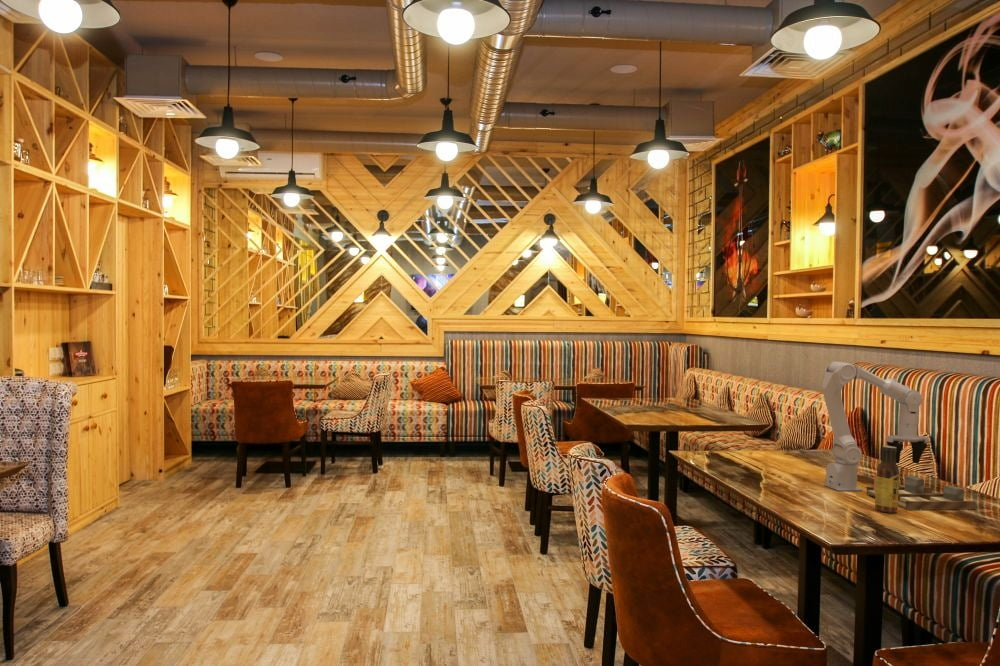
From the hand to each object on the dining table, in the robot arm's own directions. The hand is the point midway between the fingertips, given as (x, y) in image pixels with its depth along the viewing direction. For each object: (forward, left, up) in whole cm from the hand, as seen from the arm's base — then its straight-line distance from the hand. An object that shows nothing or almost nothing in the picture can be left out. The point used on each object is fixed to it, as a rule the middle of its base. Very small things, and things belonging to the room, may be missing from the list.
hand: (905, 462), depth 248 cm
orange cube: (-15, -10, -8) cm, 20 cm away
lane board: (-6, -14, -10) cm, 18 cm away
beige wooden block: (-11, -10, -10) cm, 17 cm away
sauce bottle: (-26, -24, -10) cm, 37 cm away
